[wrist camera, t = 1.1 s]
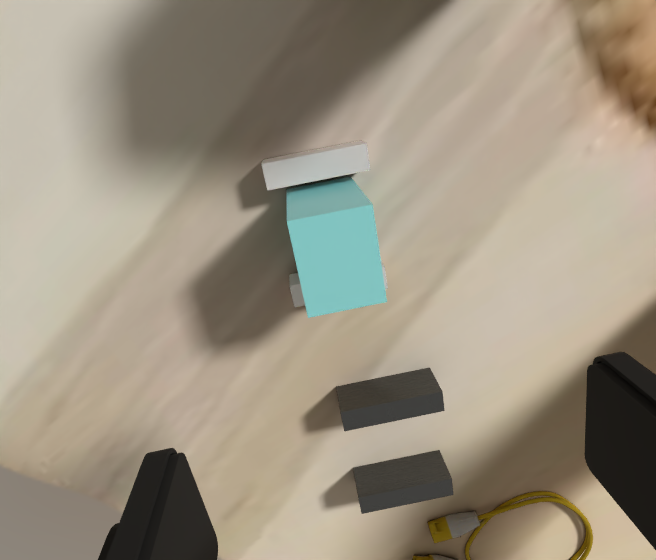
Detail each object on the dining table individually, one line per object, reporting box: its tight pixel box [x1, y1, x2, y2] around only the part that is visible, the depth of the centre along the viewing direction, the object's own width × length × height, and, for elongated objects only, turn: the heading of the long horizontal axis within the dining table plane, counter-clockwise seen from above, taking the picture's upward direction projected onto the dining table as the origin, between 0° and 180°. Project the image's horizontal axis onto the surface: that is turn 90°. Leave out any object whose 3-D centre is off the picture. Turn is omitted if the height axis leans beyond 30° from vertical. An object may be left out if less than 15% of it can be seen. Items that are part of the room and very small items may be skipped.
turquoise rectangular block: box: [286, 177, 387, 318], centre depth 26 cm, size 4×5×8 cm
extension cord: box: [412, 491, 593, 560], centre depth 41 cm, size 12×16×2 cm
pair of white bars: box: [261, 140, 388, 307], centre depth 29 cm, size 6×9×2 cm, turn 11°
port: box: [336, 368, 453, 514], centre depth 35 cm, size 7×9×3 cm
